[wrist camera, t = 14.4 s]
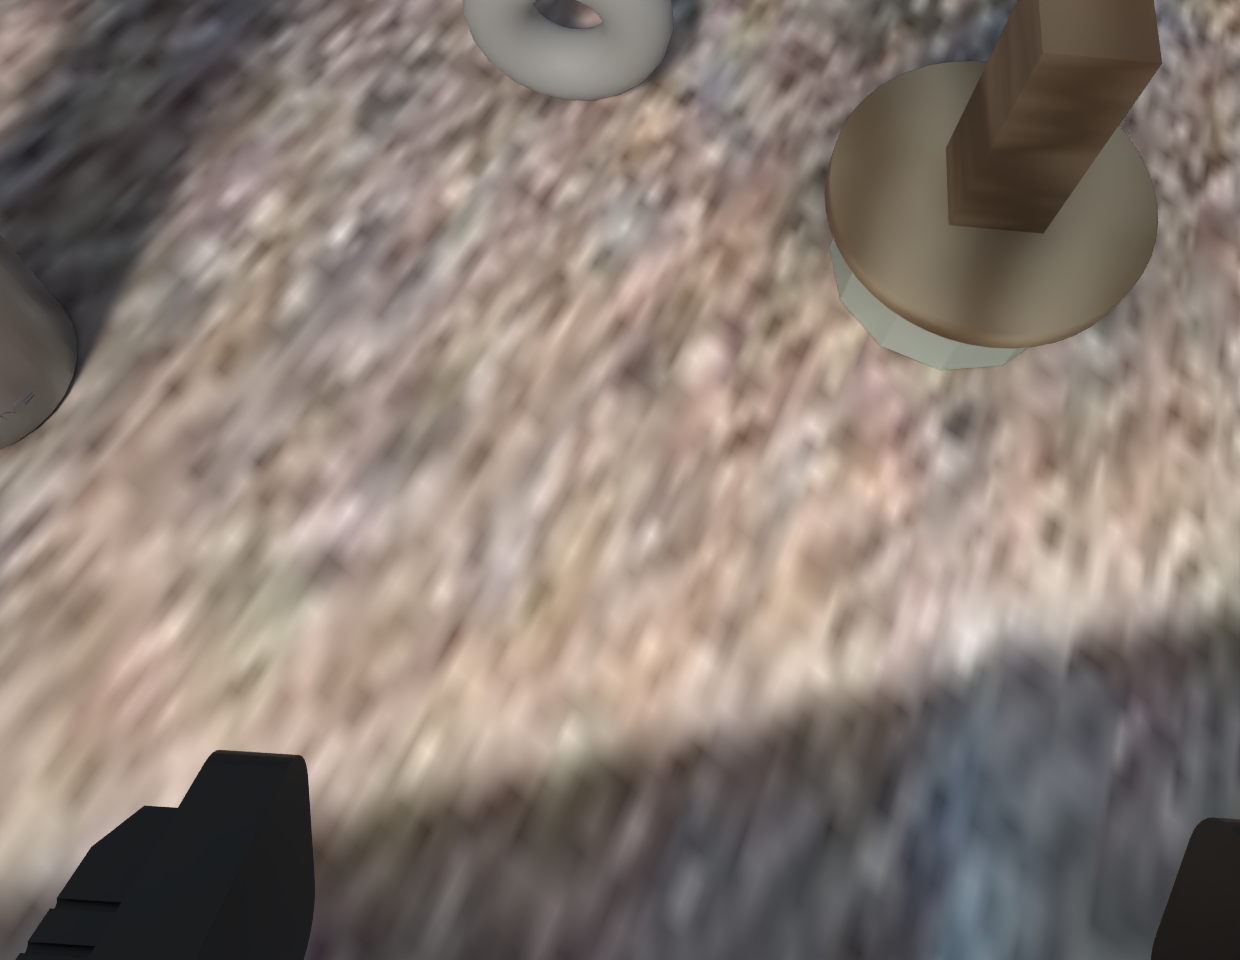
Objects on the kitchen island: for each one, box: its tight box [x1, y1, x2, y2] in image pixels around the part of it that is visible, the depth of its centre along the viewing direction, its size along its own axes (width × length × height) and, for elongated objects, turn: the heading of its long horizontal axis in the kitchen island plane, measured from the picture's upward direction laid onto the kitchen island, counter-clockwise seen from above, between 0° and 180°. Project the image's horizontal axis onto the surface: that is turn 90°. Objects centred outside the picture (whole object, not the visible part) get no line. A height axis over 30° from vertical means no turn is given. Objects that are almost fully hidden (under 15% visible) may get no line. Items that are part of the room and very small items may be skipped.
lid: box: [825, 0, 1162, 349], centre depth 41 cm, size 14×14×11 cm
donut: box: [462, 0, 674, 101], centre depth 50 cm, size 10×4×10 cm, turn 82°
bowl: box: [830, 238, 1028, 370], centre depth 49 cm, size 11×11×5 cm
